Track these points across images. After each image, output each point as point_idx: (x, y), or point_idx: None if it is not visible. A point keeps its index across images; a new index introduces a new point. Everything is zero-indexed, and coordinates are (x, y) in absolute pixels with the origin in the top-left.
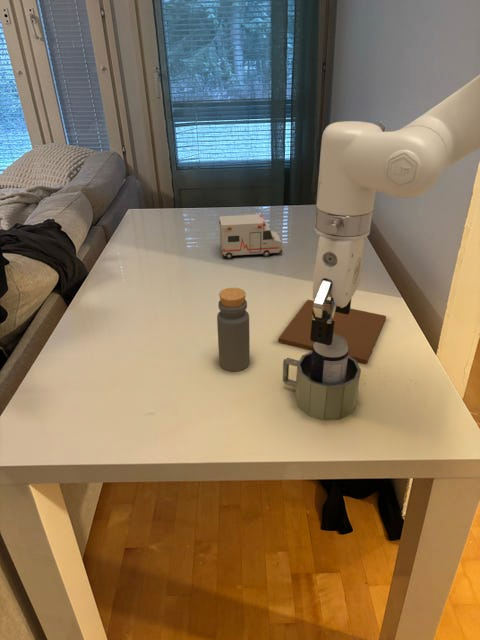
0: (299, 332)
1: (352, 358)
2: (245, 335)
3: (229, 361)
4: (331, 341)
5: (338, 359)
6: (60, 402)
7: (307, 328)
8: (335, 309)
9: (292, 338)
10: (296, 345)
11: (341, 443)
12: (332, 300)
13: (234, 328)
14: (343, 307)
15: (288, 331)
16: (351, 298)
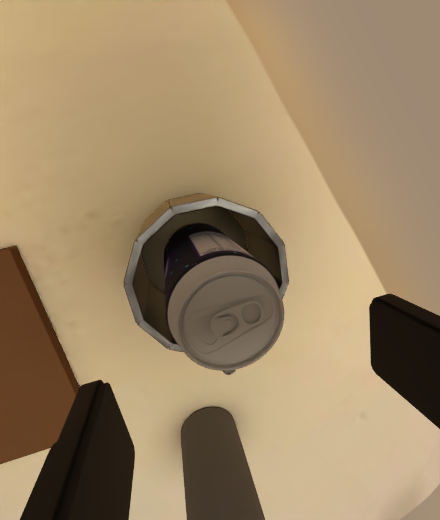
0: (36, 421)
1: (134, 253)
2: (226, 481)
3: (238, 435)
4: (401, 299)
5: (259, 261)
6: (392, 488)
7: (4, 421)
8: (126, 442)
9: None
10: None
11: (283, 172)
12: (125, 514)
13: (258, 516)
14: (108, 431)
15: (53, 438)
16: (45, 475)
